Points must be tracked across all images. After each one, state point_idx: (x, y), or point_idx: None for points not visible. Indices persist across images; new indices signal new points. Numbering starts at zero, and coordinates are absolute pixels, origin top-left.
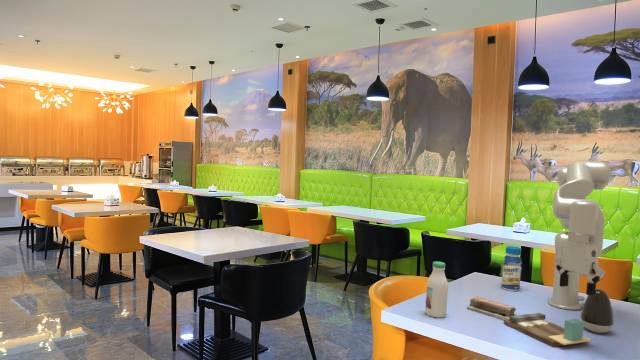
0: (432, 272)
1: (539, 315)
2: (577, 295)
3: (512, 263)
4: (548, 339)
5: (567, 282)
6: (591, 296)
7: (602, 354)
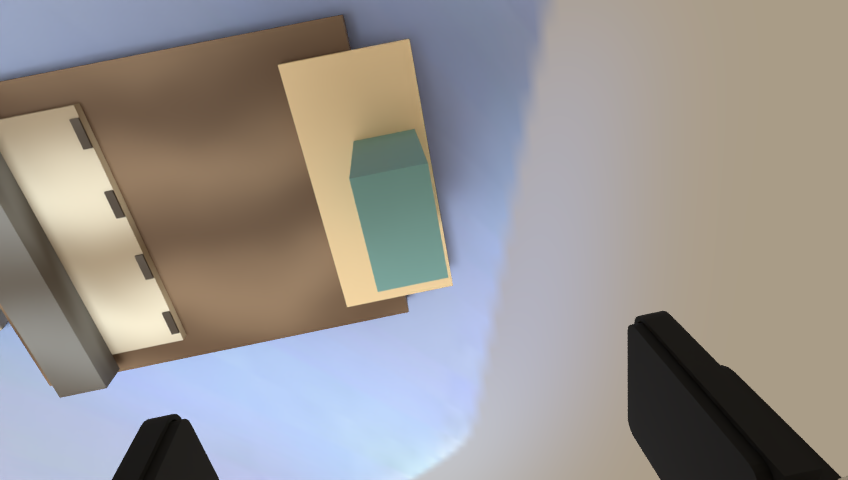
0: None
1: None
2: None
3: None
4: (366, 310)
5: (167, 474)
6: None
7: (533, 80)
